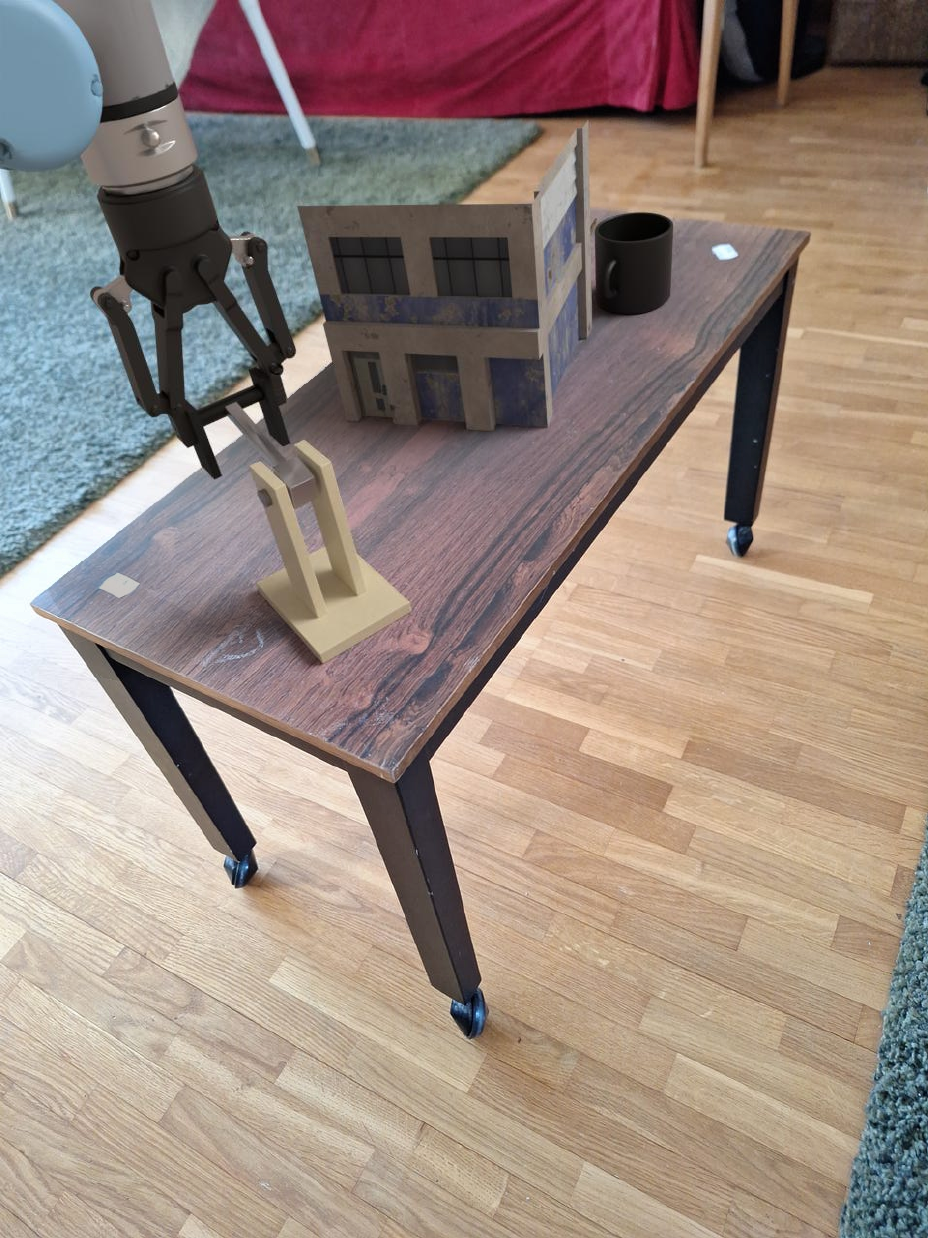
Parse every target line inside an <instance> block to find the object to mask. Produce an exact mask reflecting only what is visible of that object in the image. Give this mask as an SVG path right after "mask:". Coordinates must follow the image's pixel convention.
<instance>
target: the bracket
mask: <svg viewBox="0 0 928 1238" xmlns="http://www.w3.org/2000/svg"><path fill="white" fill-rule="evenodd" d="M293 447H294V450H295V453H296V456H297V457H298V458H299V459H300V460H301V462H302V463H303V464H304V465H305V466H306V467H307V468H308V469H309V471H310V472H311V473H312V474H313V475H314V476H315V480H316V486H317V491H318V497H319V498H317V499H315V500H313V501H311V502H310V503H311V505H312V508H313V509H312V510H313V511H314V516H315V519H316V521H317V524H318V528H319V531H320V535H321V537H322V541H323V544H324V546H323V547H321V548H319V549H317V550H315V551H313V552H311V553H309V552H308V548H307V545H306V542H305V539H304V536H303V533H302V531H301V527H300V524H299V522H298V518H297V515H296V513H295V509H294V508H293V506H292V503H291V500H290V497H289V494H288V491H287V488H286V485H285V484H284V483H283V482H282V481H281V480H280V479H279V478H278V477H277V476H276V475H275V474H274V473H273V471H272V470H270V469H269V468H268V467H267V466H266V465H265V464H264V463H262V461H257V462H255V463H252V464H250V465H248V466H249V470H250V474H251V475H252V479H253V481H254V484H255V487H256V490H257V497H258V499H259V500H260V502H261V504H262V507H263V509H264V512H265V515H266V517H267V521H268V524H269V526H270V530H271V532H272V534H273V535H272V536H273V537H274V541H275V543H276V546H277V548H278V551H279V554H280V557H281V560H282V563H283V565H284V567H283V568H281V569H279V570H277V571H275V572H274V573H271V574H270V575H268V576H266V577H265V578H262V579H261V580H259V581H257V582H256V583H255V584H256V587H257V590H258V592H259V593H260V595H261V596H262V597H263V598H264V599H265V600H266V602H267V603H268V604H269V605H270V606H271V607H272V608H273V609H274V610H275V612H276V614H278V615H279V617H281V619H282V620H283V621H284V622H285V623H286V624H287V625H288V627H290V629H291V630H292V631H293V632H294V633H295V634H296V635H297V636H298V638H299V639H300V640H301V641H302V642H303V643H304V644H305V646H306V647H307V648H308V649H309V650H310V651H311V652H312V653H313V655H314V656H315V657H316V659H318V661H320V662H321V664H323V665H324V664H325V663H327V662H329V661H330V660H333V659H334V658H335V657H337V656H339V655H341V654H342V653H344V652H346V651H348V650H349V649H351V648H352V647H354V646H356V645H358V644H360V643H361V642H363V641H364V640H366V639H368V638H370V637H372V636H373V635H375V634H376V633H378V632H380V631H381V630H383V629H385V628H386V627H389V626H390V625H391V624H393V623H395V622H396V621H399V620H401V619H402V618H404V617H405V616H407V615H408V614H410V613H412V607H411V601H409V600H408V599H407V598H406V597H405V596H403V594H401V592H400V591H398V589H396V588H395V587H394V586H393V585H392V584H391V583H390V582H388V580H386V579H385V578H384V577H383V576H382V575H381V574H380V573H379V572H378V571H376V570H375V568H373V566H371V565H370V564H369V563H368V562H367V561H366V560H365V559H363V558H362V557H361V556H360V555H359V554H358V553H357V549H356V547H355V543H354V540H353V535H352V532H351V529H350V525H349V522H348V518H347V515H346V510H345V507H344V503H343V500H342V496H341V492H340V489H339V486H338V482H337V477H336V475H335V472H334V467H333V463H332V461H331V460H329V458H328V457H326V456H324V455H323V453H321V452H320V451H318V450H317V449H316V448H315V447H314V446H313V445H311V444H310V443H309V442H308V441H306V440H305V439H303V440H301V441H299V442H297V443H295V444H293Z"/></svg>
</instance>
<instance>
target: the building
mask: <svg viewBox="0 0 928 1238" xmlns="http://www.w3.org/2000/svg"><path fill="white" fill-rule="evenodd" d="M589 130H590V129H589V120H586V122H585V124H584V126H583V127H581V128H576V129H575V131H574V132H573V133H572V135H571V137H570V138H569V139H568V141H567V142H566V144H565V145H564V147H563V148H562V149H561V151H560V153H559V154H558V155H557V157H556V158H555V160H554V161H553V163H552V164H551V166H550V167H549V169H548V170H547V172H546V173H545V175H544V176H543V177H542V179H541V180H540V182H538V184H537V186H536V187H535V189H534V190H533V201H532V202H531V203H474V204H473V203H470V204H465V203H464V204H463V203H461V204H460V203H459V204H457V203H456V204H455V203H454V204H376V205H375V204H373V205H372V204H370V205H369V204H368V205H367V204H365V205H364V204H363V205H361V204H360V205H297V206H296V207H297V211H298V214H299V219H300V223H301V227H302V230H303V235H304V239H305V242H306V248H307V251H308V254H309V259H310V264H311V267H312V271H313V275H314V280H315V284H316V287H317V292H318V295H319V299H320V303H321V308H322V311H323V312H322V313H323V315H324V316H323V317H324V319H325V321H324V322H323V323H322V327H323V330H324V331H323V332H324V334H325V339H326V343H327V347H328V351H329V355H330V359H331V361H332V367H333V370H334V375H335V379H336V382H337V387H338V392H339V395H340V399H341V403H342V406H343V411H344V415H345V419H346V421H351V422H359V421H360V420H361V418H362V417H382V418H391V419H392V423H393V425H402V426H403V425H404V426H416V427H417V426H419V424H420V423H421V421H422V419H423V420H424V419H425V420H438V421H439V420H440V421H451V422H452V421H454V422H465V426H466V430H470V431H471V430H473V431H485V432H493V431H494V429H495V427H496V425H497V424H498V425H507V426H508V425H510V426H523V427H524V426H525V427H538V428H549V426H550V425H551V421H552V419H553V417H554V415H553V397H554V395H555V393H556V391H557V388H558V387H559V384H560V382H561V379H562V377H563V375H564V373H565V371H566V369H567V367H568V365H569V362H570V360H571V358H572V356H573V353H574V351H575V349H576V347H577V345H578V342H579V340H580V339H582V340H583V339H584V340H585V339H586V340H587V339H588V338H589V336H590V333H591V331H592V328H593V307H592V306H593V303H592V295H593V294H592V248H591V247H592V245H591V243H592V242H591V236H590V227H591V191H590V190H591V188H590V186H591V185H590V139H589V138H590V134H589V133H590V131H589Z"/></svg>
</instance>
